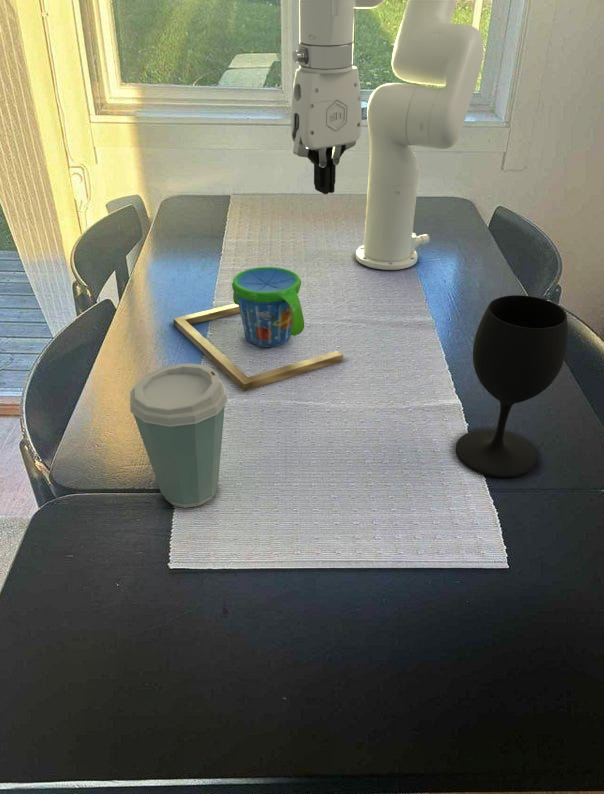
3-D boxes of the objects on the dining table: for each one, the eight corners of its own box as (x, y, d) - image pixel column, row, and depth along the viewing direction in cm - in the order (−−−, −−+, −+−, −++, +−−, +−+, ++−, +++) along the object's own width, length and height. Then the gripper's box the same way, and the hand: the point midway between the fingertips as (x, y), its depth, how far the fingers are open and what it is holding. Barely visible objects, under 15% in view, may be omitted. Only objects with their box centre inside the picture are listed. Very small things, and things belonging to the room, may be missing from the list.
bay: (263, 302, 126) (263, 296, 125) (342, 361, 110) (343, 354, 109) (173, 324, 118) (172, 318, 118) (244, 391, 102) (243, 384, 101)
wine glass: (539, 440, 94) (577, 300, 81) (532, 486, 86) (572, 339, 73) (461, 425, 96) (487, 286, 84) (448, 468, 89) (473, 323, 76)
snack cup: (216, 327, 118) (212, 269, 111) (270, 313, 123) (268, 256, 116) (265, 366, 108) (264, 304, 101) (321, 349, 113) (323, 289, 106)
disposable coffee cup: (160, 530, 79) (142, 418, 69) (132, 477, 86) (113, 369, 77) (247, 503, 82) (241, 394, 73) (214, 454, 90) (204, 349, 81)
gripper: (295, 67, 93) (297, 207, 105) (384, 55, 99) (376, 189, 111) (266, 58, 98) (271, 193, 109) (353, 47, 104) (349, 176, 116)
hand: (324, 190), depth 110 cm, fingers closed
